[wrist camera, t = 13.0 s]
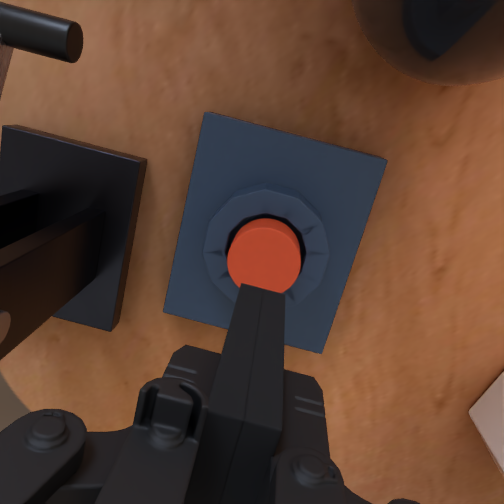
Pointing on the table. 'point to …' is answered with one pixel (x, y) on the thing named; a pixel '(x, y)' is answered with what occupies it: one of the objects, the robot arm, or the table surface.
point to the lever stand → (63, 231)
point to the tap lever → (36, 36)
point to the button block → (274, 207)
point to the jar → (491, 420)
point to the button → (265, 255)
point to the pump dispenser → (437, 38)
